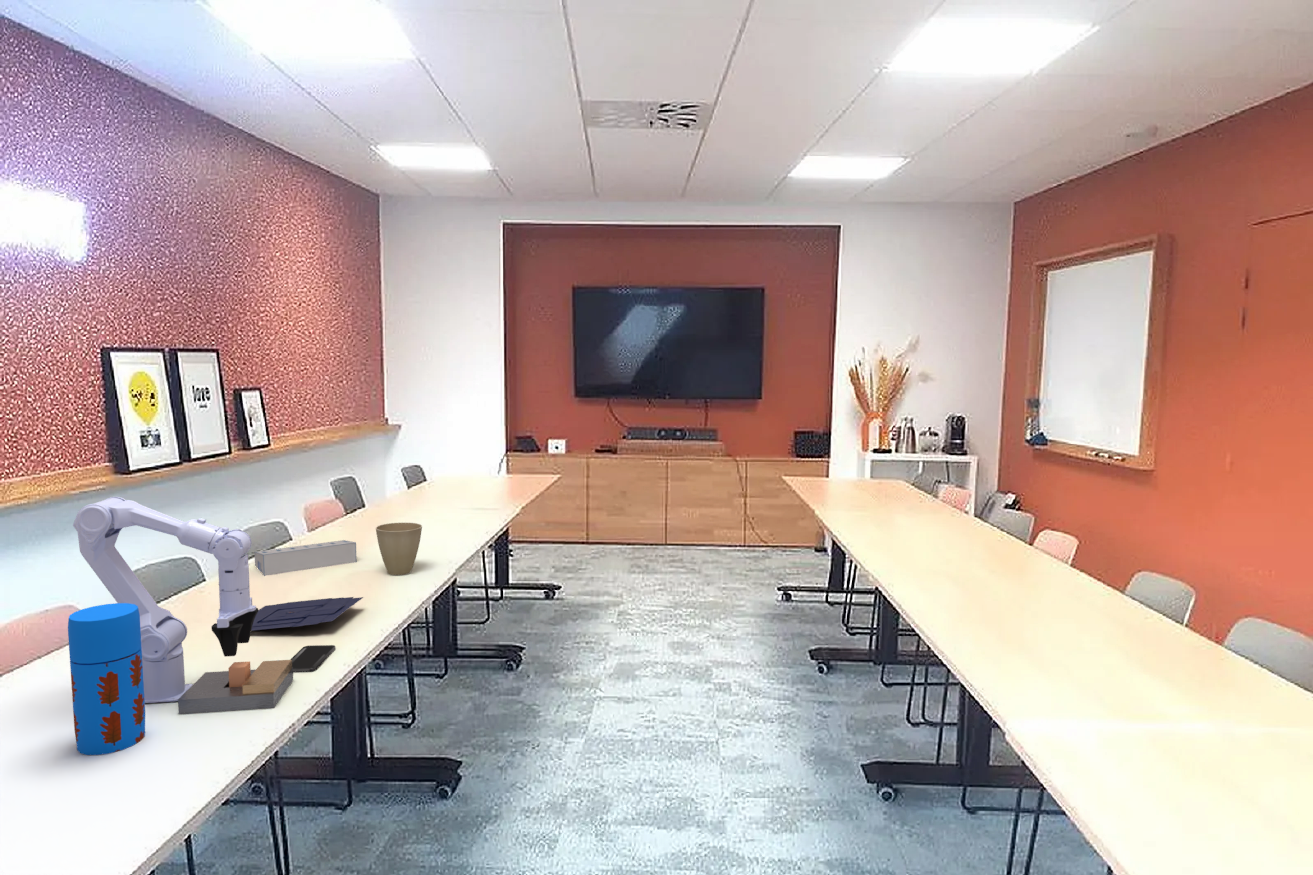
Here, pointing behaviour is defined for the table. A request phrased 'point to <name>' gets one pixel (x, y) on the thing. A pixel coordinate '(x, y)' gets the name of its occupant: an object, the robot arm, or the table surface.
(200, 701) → the bracket plate
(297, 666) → the phone
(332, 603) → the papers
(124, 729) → the thermos
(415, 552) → the plant pot
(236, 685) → the light brown rectangular block
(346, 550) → the warehouse
